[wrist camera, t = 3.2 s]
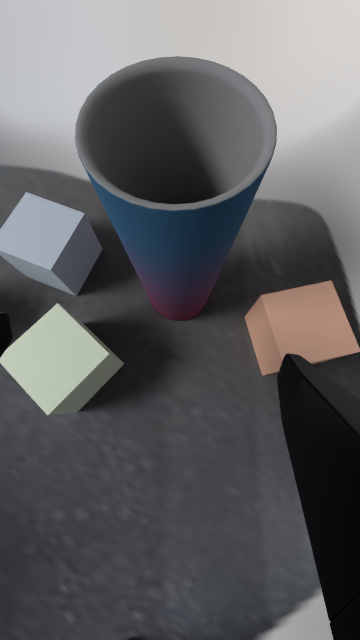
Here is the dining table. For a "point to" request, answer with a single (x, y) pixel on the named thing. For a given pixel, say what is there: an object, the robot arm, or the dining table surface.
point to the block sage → (60, 362)
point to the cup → (176, 169)
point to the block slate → (50, 243)
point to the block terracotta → (300, 326)
